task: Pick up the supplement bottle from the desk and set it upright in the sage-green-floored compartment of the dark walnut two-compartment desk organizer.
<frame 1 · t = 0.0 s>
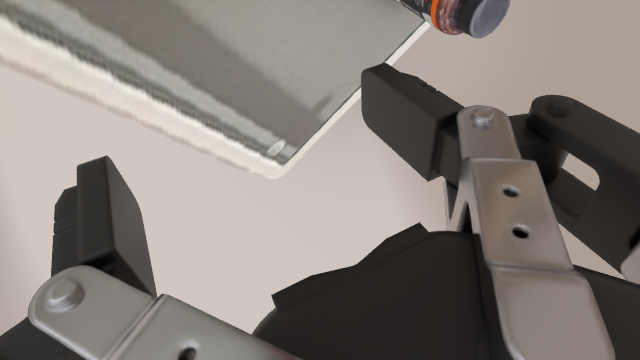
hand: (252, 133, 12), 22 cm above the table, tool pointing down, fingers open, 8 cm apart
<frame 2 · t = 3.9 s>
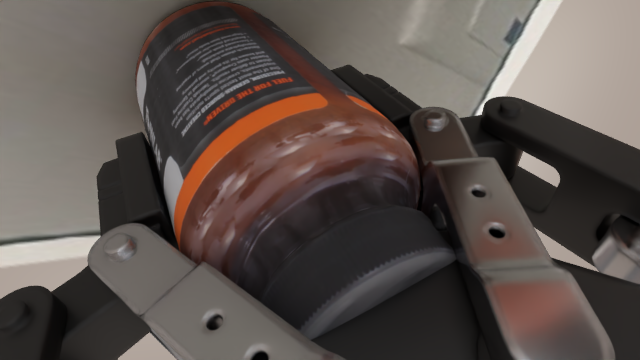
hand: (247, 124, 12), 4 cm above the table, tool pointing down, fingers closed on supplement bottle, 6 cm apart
supplement bottle: (216, 77, 14), on the table, touching gripper
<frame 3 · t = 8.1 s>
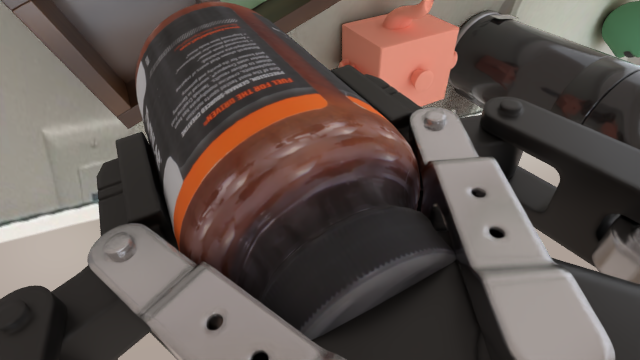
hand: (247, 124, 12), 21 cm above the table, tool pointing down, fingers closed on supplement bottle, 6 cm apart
supplement bottle: (216, 77, 14), point 17 cm above the table, touching gripper
alien toy: (605, 21, 55), on the table
teapot: (372, 48, 39), on the table
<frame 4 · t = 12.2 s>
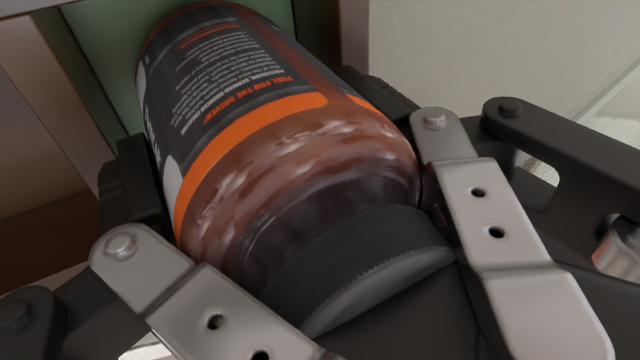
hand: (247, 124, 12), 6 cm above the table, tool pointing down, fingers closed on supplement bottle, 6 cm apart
supplement bottle: (216, 76, 14), point 2 cm above the table, touching gripper
organizer: (86, 88, 14), on the table
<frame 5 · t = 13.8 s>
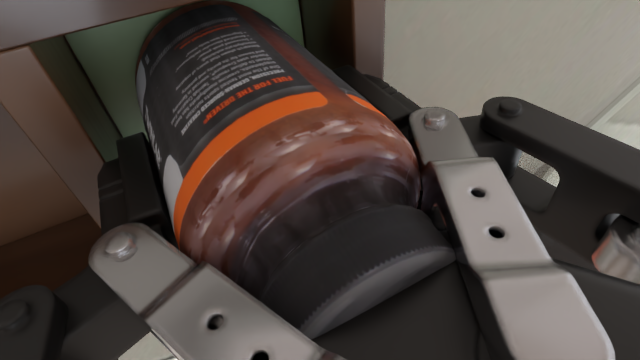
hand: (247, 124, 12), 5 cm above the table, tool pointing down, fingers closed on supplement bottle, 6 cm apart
supplement bottle: (216, 76, 14), point 1 cm above the table, touching gripper
organizer: (90, 110, 14), on the table
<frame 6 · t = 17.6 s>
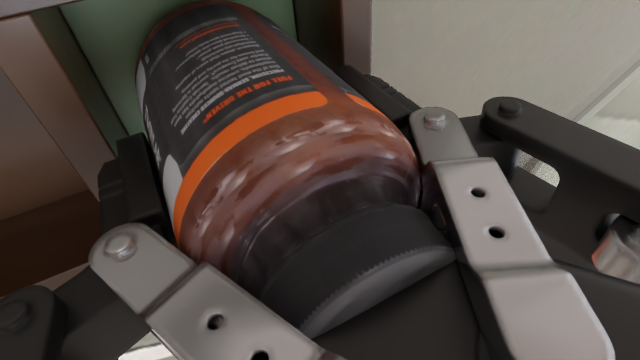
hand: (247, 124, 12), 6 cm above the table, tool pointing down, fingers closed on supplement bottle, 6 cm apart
supplement bottle: (216, 76, 14), point 2 cm above the table, touching gripper
organizer: (86, 88, 14), on the table
when the fingers open (6 cm above the table, at t = 20.9 s): supplement bottle drops 1 cm, resting on organizer.
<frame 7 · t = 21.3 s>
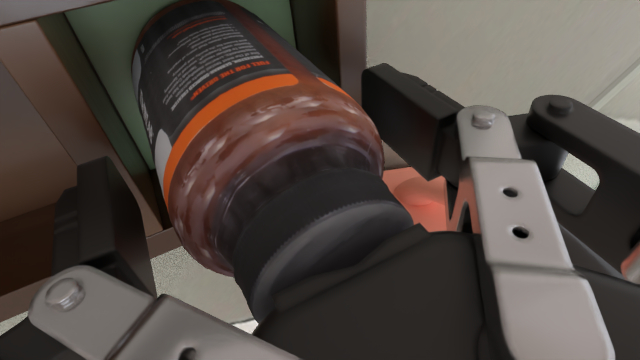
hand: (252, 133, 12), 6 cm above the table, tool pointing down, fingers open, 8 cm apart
supplement bottle: (207, 68, 16), point 1 cm above the table, touching organizer
organizer: (90, 90, 15), on the table
teapot: (368, 202, 28), on the table
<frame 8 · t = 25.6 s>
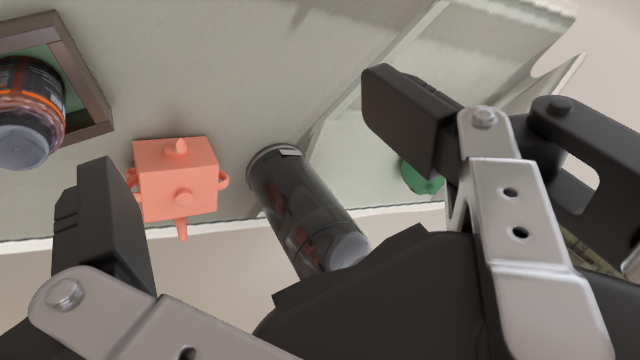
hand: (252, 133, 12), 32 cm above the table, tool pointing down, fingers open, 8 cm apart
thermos: (468, 164, 80), on the table
supplement bottle: (28, 84, 35), point 1 cm above the table, touching organizer
alien toy: (406, 160, 70), on the table
teapot: (170, 159, 47), on the table
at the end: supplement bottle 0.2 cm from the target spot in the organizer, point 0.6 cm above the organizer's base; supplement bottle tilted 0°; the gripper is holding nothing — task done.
